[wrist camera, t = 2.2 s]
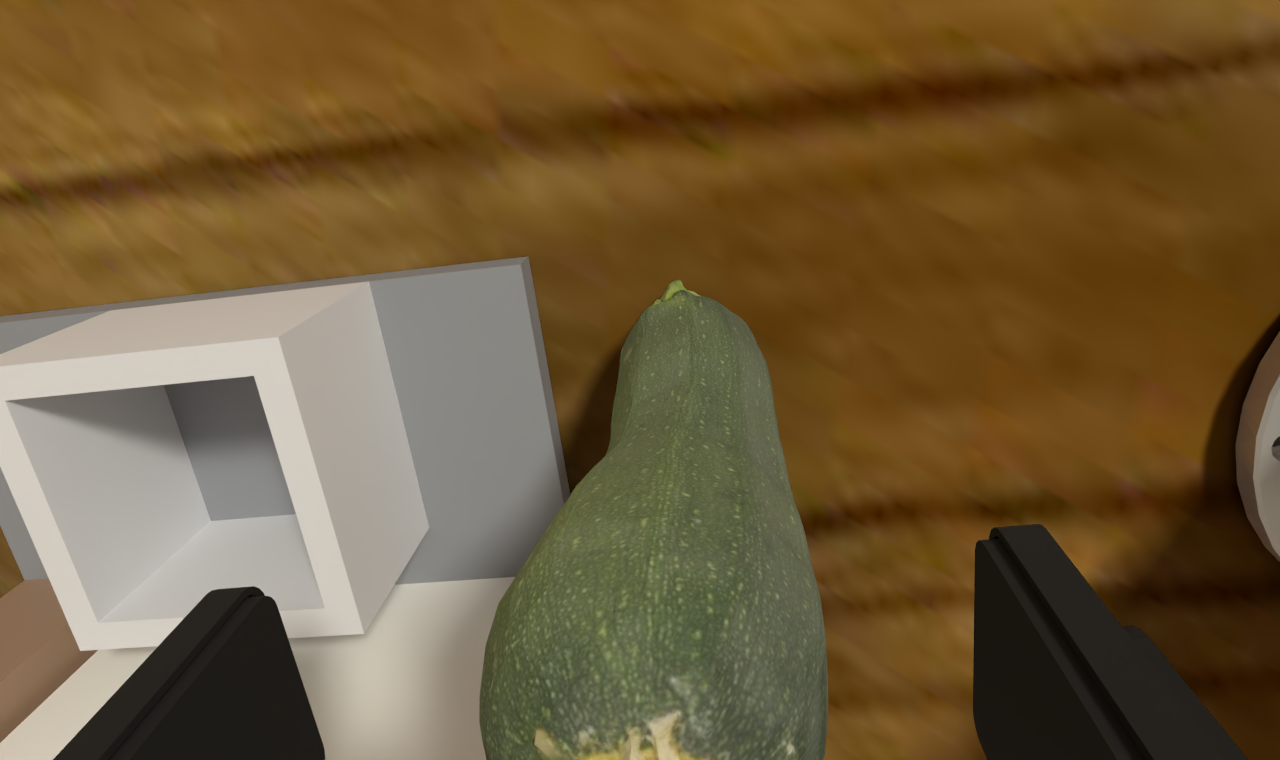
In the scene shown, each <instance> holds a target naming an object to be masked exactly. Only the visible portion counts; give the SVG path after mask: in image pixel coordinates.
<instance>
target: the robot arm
mask: <svg viewBox="0 0 1280 760" xmlns="http://www.w3.org/2000/svg"><path fill="white" fill-rule="evenodd" d="M1235 447H1236V471H1237V485H1238V488H1239V491H1240V495H1241V498H1242V502H1243V505H1244V508H1245V512H1246V515H1247V518H1248V520H1249V521H1250V523H1251V525H1252V526H1253V528H1254V530H1255V531H1256V533H1257V535H1258V536H1259V538H1260V540H1261V541H1262V543H1263V545H1264V546H1265V548H1266V549H1267V550H1268V551H1269V552H1270V553H1271V554H1272V555H1273V556H1274V557H1275V558H1276V559H1277V560H1278V561H1279V562H1280V331H1279V333H1278V335H1277V336H1276V338H1275V339H1274V341H1273V343H1272V344H1271V346H1270V347H1269V349H1268V350H1267V352H1266V354H1265V355H1264V357H1263V358H1262V360H1261V362H1260V363H1259V366H1258V368H1257V371H1256V373H1255V376H1254V378H1253V381H1252V383H1251V386H1250V388H1249V391H1248V393H1247V396H1246V398H1245V401H1244V403H1243V407H1242V412H1241V417H1240V423H1239V428H1238V434H1237V439H1236V445H1235ZM973 715H974V722H975V727H976V731H977V735H978V738H979V741H980V743H981V746H982V748H983V750H984V753H985V755H986V757H987V760H1248V759H1247V758H1246V756H1245V755H1244V754H1243V753H1242V751H1241V750H1240V749H1239V748H1238V747H1237V745H1236V744H1235V743H1234V742H1233V740H1232V739H1231V738H1230V737H1229V735H1228V734H1227V733H1226V732H1225V731H1224V729H1223V728H1222V727H1221V726H1220V724H1219V723H1218V722H1217V721H1216V719H1215V718H1214V717H1213V716H1212V714H1211V713H1210V712H1209V711H1208V710H1207V708H1206V707H1205V706H1204V705H1203V703H1202V702H1201V701H1200V700H1199V698H1198V697H1197V696H1196V695H1195V693H1194V692H1193V691H1192V690H1191V689H1190V687H1189V686H1188V685H1187V684H1186V682H1185V681H1184V680H1183V679H1182V677H1181V676H1180V675H1179V674H1178V673H1177V671H1176V670H1175V669H1174V668H1173V666H1172V665H1171V664H1170V663H1169V661H1168V660H1167V659H1166V658H1165V656H1164V655H1163V654H1162V653H1161V652H1160V650H1159V649H1158V648H1157V647H1156V645H1155V644H1154V643H1153V642H1152V640H1151V639H1150V638H1149V637H1148V636H1147V635H1146V634H1145V633H1144V632H1143V631H1142V630H1141V629H1138V628H1136V627H1133V626H1126V627H1122V626H1121V625H1120V623H1119V622H1118V621H1117V620H1116V618H1115V617H1114V616H1113V614H1112V613H1111V612H1110V611H1109V609H1108V608H1107V607H1106V605H1105V604H1104V603H1103V602H1102V600H1101V599H1100V598H1099V596H1098V595H1097V594H1096V593H1095V591H1094V590H1093V589H1092V587H1091V586H1090V585H1089V584H1088V582H1087V581H1086V580H1085V578H1084V577H1083V576H1082V575H1081V573H1080V572H1079V571H1078V569H1077V568H1076V567H1075V566H1074V564H1073V563H1072V562H1071V560H1070V559H1069V558H1068V557H1067V555H1066V554H1065V553H1064V551H1063V550H1062V549H1061V547H1060V546H1059V545H1058V544H1057V542H1056V541H1055V540H1054V538H1053V537H1052V536H1051V535H1050V533H1049V532H1048V531H1047V529H1046V528H1045V527H1043V526H1042V525H1040V524H1033V525H1020V526H1008V527H995V528H993V529H992V530H991V533H990V536H989V540H979V541H978V542H977V543H976V548H975V600H974V677H973ZM53 760H325V750H324V745H323V742H322V739H321V736H320V733H319V730H318V727H317V724H316V721H315V718H314V715H313V712H312V709H311V706H310V703H309V700H308V697H307V694H306V691H305V688H304V685H303V682H302V679H301V676H300V673H299V670H298V667H297V664H296V661H295V658H294V655H293V652H292V649H291V646H290V643H289V640H288V637H287V634H286V631H285V628H284V625H283V622H282V619H281V616H280V613H279V610H278V607H277V604H276V602H275V600H274V599H273V598H272V597H269V596H265V595H264V593H263V592H262V591H261V590H260V589H259V588H257V587H254V586H251V587H238V588H226V589H216V590H212V591H210V592H209V593H208V594H206V595H205V596H204V597H203V598H202V600H201V601H200V602H199V603H198V604H197V605H196V606H195V607H194V608H193V609H192V610H191V611H190V612H189V614H188V615H187V616H186V617H185V618H184V619H183V620H182V621H181V622H180V623H179V624H178V625H177V626H176V628H175V629H174V630H173V631H172V632H171V633H170V634H169V635H168V636H167V637H166V638H165V639H164V640H163V642H162V643H161V644H160V645H159V646H158V647H157V648H156V649H155V650H154V651H153V652H152V653H151V654H150V656H149V657H148V658H147V659H146V660H145V661H144V662H143V663H142V664H141V665H140V666H139V667H138V669H137V670H136V671H135V672H134V673H133V674H132V675H131V676H130V677H129V678H128V679H127V680H126V681H125V683H124V684H123V685H122V686H121V687H120V688H119V689H118V690H117V691H116V692H115V693H114V694H113V695H112V697H111V698H110V699H109V700H108V701H107V702H106V703H105V704H104V705H103V706H102V707H101V708H100V709H99V711H98V712H97V713H96V714H95V715H94V716H93V717H92V718H91V719H90V720H89V721H88V722H87V723H86V725H85V726H84V727H83V728H82V729H81V730H80V731H79V732H78V733H77V734H76V735H75V736H74V737H73V739H72V740H71V741H70V742H69V743H68V744H67V745H66V746H65V747H64V748H63V749H62V750H61V751H60V753H59V754H58V755H57V756H56V757H55V758H54V759H53Z"/></svg>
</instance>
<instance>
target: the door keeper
mask: <svg viewBox="0 0 1280 760" xmlns="http://www.w3.org/2000/svg"><path fill="white" fill-rule="evenodd" d="M569 496H570V490H569V484H568V479H567V473H566V467H565V462H564V456H563V450H562V444H561V439H560V433H559V427H558V422H557V416H556V410H555V405H554V399H553V393H552V388H551V382H550V376H549V371H548V365H547V359H546V354H545V348H544V342H543V337H542V331H541V325H540V319H539V314H538V308H537V302H536V297H535V291H534V285H533V280H532V274H531V268H530V263H529V257H519V258H510V259H502V260H493V261H484V262H475V263H466V264H457V265H449V266H440V267H431V268H422V269H413V270H405V271H396V272H387V273H378V274H369V275H361V276H352V277H343V278H334V279H325V280H316V281H308V282H299V283H290V284H281V285H272V286H264V287H255V288H246V289H237V290H228V291H219V292H211V293H202V294H193V295H184V296H175V297H167V298H158V299H149V300H140V301H131V302H123V303H114V304H105V305H96V306H87V307H78V308H70V309H61V310H52V311H43V312H34V313H26V314H17V315H8V316H0V526H1V528H2V530H3V533H4V535H5V537H6V539H7V542H8V544H9V546H10V548H11V551H12V553H13V555H14V557H15V560H16V562H17V564H18V566H19V568H20V571H21V573H22V575H23V577H24V581H23V582H22V583H20V584H19V585H18V586H16V587H15V588H14V589H12V590H11V591H10V592H8V593H7V594H6V595H4V596H3V597H1V598H0V760H53V759H54V758H55V757H56V756H57V755H58V754H59V753H60V751H61V750H62V749H63V748H64V747H65V746H66V745H67V744H68V743H69V742H70V741H71V740H72V739H73V737H74V736H75V735H76V734H77V733H78V732H79V731H80V730H81V729H82V728H83V727H84V726H85V725H86V723H87V722H88V721H89V720H90V719H91V718H92V717H93V716H94V715H95V714H96V713H97V712H98V711H99V709H100V708H101V707H102V706H103V705H104V704H105V703H106V702H107V701H108V700H109V699H110V698H111V697H112V695H113V694H114V693H115V692H116V691H117V690H118V689H119V688H120V687H121V686H122V685H123V684H124V683H125V681H126V680H127V679H128V678H129V677H130V676H131V675H132V674H133V673H134V672H135V671H136V670H137V669H138V667H139V666H140V665H141V664H142V663H143V662H144V661H145V660H146V659H147V658H148V657H149V656H150V654H151V653H152V652H153V651H154V650H155V649H156V648H157V647H158V646H159V645H160V644H161V643H162V642H163V640H164V639H165V638H166V637H167V636H168V635H169V634H170V633H171V632H172V631H173V630H174V629H175V628H176V626H177V625H178V624H179V623H180V622H181V621H182V620H183V619H184V618H185V617H186V616H187V615H188V614H189V612H190V611H191V610H192V609H193V608H194V607H195V606H196V605H197V604H198V603H199V602H200V601H201V600H202V598H203V597H204V596H205V595H206V594H208V593H209V592H210V591H212V590H216V589H226V588H238V587H251V586H254V587H257V588H259V589H260V590H261V591H262V592H263V593H264V595H265V596H269V597H272V598H273V599H274V600H275V602H276V604H277V607H278V610H279V613H280V616H281V619H282V622H283V625H284V628H285V631H286V634H287V637H288V640H289V643H290V646H291V649H292V652H293V655H294V658H295V661H296V664H297V667H298V670H299V673H300V676H301V679H302V682H303V685H304V688H305V691H306V694H307V697H308V700H309V703H310V706H311V709H312V712H313V715H314V718H315V721H316V724H317V727H318V730H319V733H320V736H321V739H322V742H323V745H324V750H325V760H486V755H485V750H484V746H483V741H482V735H481V729H480V723H479V705H480V688H481V680H482V671H483V663H484V654H485V646H486V642H487V639H488V636H489V633H490V630H491V626H492V623H493V620H494V617H495V613H496V610H497V607H498V604H499V602H500V600H501V599H502V597H503V596H504V594H505V592H506V591H507V589H508V588H509V586H510V585H511V583H512V582H513V580H514V579H515V577H516V575H517V574H518V572H519V571H520V569H521V568H522V566H523V565H524V563H525V562H526V560H527V558H528V557H529V555H530V554H531V552H532V551H533V549H534V548H535V546H536V544H537V543H538V541H539V540H540V538H541V537H542V535H543V534H544V532H545V530H546V529H547V527H548V526H549V524H550V523H551V521H552V519H553V518H554V517H555V516H556V514H557V513H558V512H559V511H560V510H561V508H562V507H563V506H564V504H565V502H566V501H567V499H568V498H569Z"/></svg>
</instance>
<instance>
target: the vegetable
mask: <svg viewBox="0 0 1280 760" xmlns="http://www.w3.org/2000/svg"><path fill="white" fill-rule="evenodd" d="M827 719H828V673H827V656H826V635H825V628H824V621H823V614H822V607H821V599H820V594H819V590H818V586H817V583H816V579H815V575H814V571H813V567H812V564H811V560H810V555H809V550H808V545H807V541H806V536H805V532H804V528H803V525H802V522H801V518H800V515H799V513H798V510H797V508H796V506H795V503H794V499H793V495H792V491H791V487H790V483H789V479H788V474H787V468H786V463H785V458H784V453H783V450H782V446H781V442H780V437H779V430H778V425H777V419H776V414H775V408H774V400H773V392H772V385H771V378H770V375H769V371H768V367H767V363H766V360H765V358H764V357H763V355H762V353H761V351H760V349H759V347H758V345H757V343H756V340H755V338H754V336H753V334H752V332H751V330H750V329H749V327H748V325H747V324H746V323H745V322H744V321H743V320H742V319H741V318H740V317H739V316H737V315H736V314H734V313H732V312H731V311H729V310H728V309H727V308H725V307H724V306H723V305H722V304H720V303H719V302H717V301H715V300H712V299H710V298H708V297H704V296H699V295H698V294H697V293H695V292H693V291H688V290H686V289H685V288H684V287H683V285H682V282H681V281H680V280H677V281H673V282H672V283H670V284H669V285H668V287H667V288H666V290H665V292H664V294H663V296H662V298H661V299H658V300H656V301H655V302H654V304H653V305H652V306H650V307H648V308H647V309H646V310H645V311H644V312H643V313H642V314H641V315H640V317H639V319H638V320H637V322H636V323H635V325H634V327H633V328H632V330H631V331H630V333H629V335H628V337H627V339H626V341H625V343H624V345H623V347H622V349H621V354H620V364H619V374H618V382H617V388H616V393H615V398H614V404H613V410H612V419H611V439H610V443H609V447H608V450H607V453H606V455H605V457H604V458H603V459H602V460H601V461H599V462H598V463H597V464H596V465H595V466H594V467H593V468H592V469H591V470H590V471H589V472H588V473H587V475H586V476H585V477H584V478H583V479H582V480H581V481H580V482H579V483H578V484H577V485H576V487H575V488H574V490H573V491H572V493H571V495H570V496H569V498H568V499H567V501H566V502H565V504H564V506H563V507H562V508H561V510H560V511H559V512H558V513H557V514H556V516H555V517H554V518H553V519H552V521H551V523H550V524H549V526H548V527H547V529H546V530H545V532H544V534H543V535H542V537H541V538H540V540H539V541H538V543H537V544H536V546H535V548H534V549H533V551H532V552H531V554H530V555H529V557H528V558H527V560H526V562H525V563H524V565H523V566H522V568H521V569H520V571H519V572H518V574H517V575H516V577H515V579H514V580H513V582H512V583H511V585H510V586H509V588H508V589H507V591H506V592H505V594H504V596H503V597H502V599H501V600H500V602H499V604H498V607H497V610H496V613H495V617H494V620H493V623H492V626H491V630H490V633H489V636H488V639H487V642H486V646H485V654H484V663H483V671H482V680H481V688H480V705H479V723H480V729H481V735H482V741H483V746H484V750H485V755H486V760H823V758H824V755H825V745H826V732H827Z"/></svg>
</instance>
